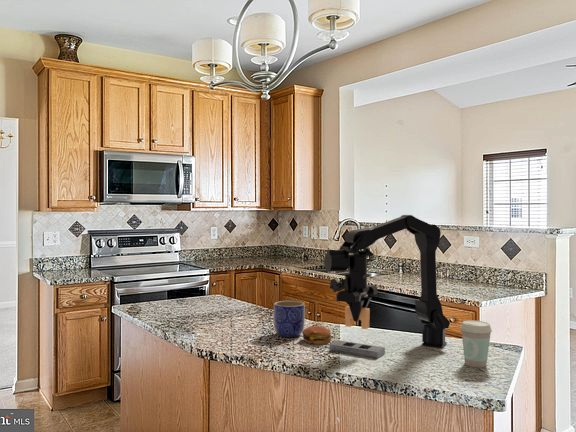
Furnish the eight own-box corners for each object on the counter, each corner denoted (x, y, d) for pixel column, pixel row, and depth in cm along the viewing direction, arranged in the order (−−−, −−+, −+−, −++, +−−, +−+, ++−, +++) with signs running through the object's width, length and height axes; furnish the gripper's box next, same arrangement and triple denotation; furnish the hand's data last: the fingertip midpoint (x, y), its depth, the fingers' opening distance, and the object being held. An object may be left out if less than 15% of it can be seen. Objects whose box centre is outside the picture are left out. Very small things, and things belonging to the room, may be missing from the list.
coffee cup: (455, 360, 151) (455, 320, 151) (482, 359, 152) (483, 319, 152) (467, 369, 143) (468, 326, 143) (497, 368, 144) (497, 326, 143)
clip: (369, 327, 158) (369, 308, 158) (366, 329, 156) (366, 309, 156) (348, 324, 162) (348, 305, 162) (345, 326, 160) (345, 307, 160)
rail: (384, 353, 158) (384, 347, 158) (377, 358, 153) (377, 352, 153) (337, 346, 166) (337, 340, 166) (329, 350, 161) (329, 344, 161)
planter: (311, 334, 181) (311, 303, 181) (290, 340, 173) (290, 307, 173) (288, 329, 188) (288, 299, 188) (267, 335, 180) (267, 303, 180)
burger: (327, 337, 178) (327, 323, 178) (334, 344, 169) (334, 330, 169) (299, 338, 176) (299, 325, 176) (305, 345, 167) (305, 331, 167)
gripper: (346, 266, 171) (346, 312, 171) (320, 272, 155) (320, 323, 155) (378, 268, 165) (377, 316, 166) (354, 274, 149) (354, 327, 150)
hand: (357, 320), depth 159 cm, fingers closed on clip, 2 cm apart
